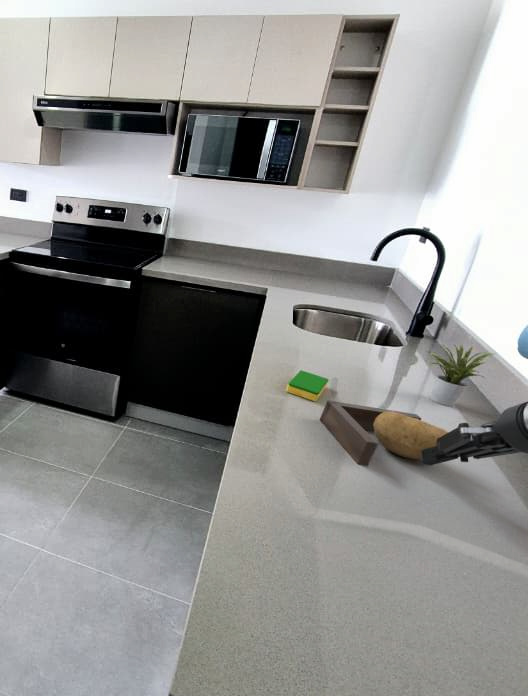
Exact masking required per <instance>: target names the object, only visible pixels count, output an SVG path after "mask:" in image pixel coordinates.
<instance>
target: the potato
mask: <svg viewBox="0 0 528 696" xmlns="http://www.w3.org/2000/svg"><path fill="white" fill-rule="evenodd" d="M373 426H374V432H373V433H374V435H375V436H376V438H377V440H378V442H379V443H380V444H381V445H382V446H383V448H386V449H387V450H389V451H390V452H392V453H393V454H395V455H397V456H399V457H402V458H404V459H409V460H410V459H411V460H423V459H422V450H425V449H428V448H431V447H434V446H437V440H436V439H438V438H439V437H441V436H443V435H445V434H447V433H448V432H449V431H447V430H445V429H444V428H441V427H439V426H436V425H434V424H431V423H428V422H426V421H424V420H422V419H421V420H419V419H416V418H412V417H409V416H406V415H403V414H400V413H396V412H390V411H387V412H384V413H382V414H380V415H379V416H377V417H376V419H375V421H374V424H373Z"/></svg>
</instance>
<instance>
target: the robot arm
mask: <svg viewBox="0 0 528 696" xmlns="http://www.w3.org/2000/svg"><path fill="white" fill-rule="evenodd" d="M516 349H517V352H518V353H519V355H520V356H521V357H523V358H524V359H526V360H528V324H527V325H526V326H525V327H524V328H523V330H522V331H521V333H520V334H519V336H518V338H517V347H516ZM447 432H448V433H447V434H445V435H443V436H441V437H439V438H438V439H436V440H437V446H434V447H431V448H428V449H425V450H422V459H421V460H422V465H426V466H434V465H438V464H442V463H447V462H450V461H453V460H457V459H460V462H461V463H469V458H473V459H475V460H482V459H486V458H493V457H499V456H500V457H501V456H505V455H511V454H518V453H523V454H528V401H525V402H521V403H518V404H516V405H513V406H510V407H508V408H505V409H504V410H503V411H502V412H501V413H500V415H499V417H498V418H497V420H493V421H490V422H485V423H482V424H481V425H480V426H479V427H475V426H474V427H473V426H472V425H470V424H469V423H468V422H461V423H458V425H457V427H456V428H454V429H452V430H451V431H447Z"/></svg>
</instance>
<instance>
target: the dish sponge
mask: <svg viewBox="0 0 528 696" xmlns="http://www.w3.org/2000/svg"><path fill="white" fill-rule="evenodd" d="M329 381H330V380H329V378H327V377H324V376H320V375H317V374H314V373H311V372H307V371H305V370H302V369H301V370H299V371H298V372H297V373H296V375H295V376H294V377H293V378H291V380H290V381H289V382H288V384H287V387H286V389H285V392H287V393H289V394H292V395H295V396H298V397H300V398H304V399H307V400H309V401H312V402H317V400H318V399H319V398H320V396H321V395H322V394H323V392H324V391H325V389H326V387H327V385H328V383H329Z"/></svg>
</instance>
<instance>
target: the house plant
mask: <svg viewBox="0 0 528 696" xmlns="http://www.w3.org/2000/svg"><path fill="white" fill-rule="evenodd" d="M436 343H437V344H439V345H441V346H440V348H441V349H443V350H444V351H445V354H446V355H447V358H448V359H449V361H447V360H445V358H443V357H441V356H439V355H438V354H436V353H435V352H431V351H426V352H427V353H428V354H429V355H431V356H433V358H434V360H435V361H436V362H434V361H432V362H428V365H438V366H439V367H440V369H441V371H442V372H443V374H444V375H442V374H438V375H436V377H435V380H434V382H433V386H432V391H431V394H430V400H431V401H432V402H433V403H436V404H439V405H442V406H445V407H453V406H454V405H455V403H456V402H457V401H458V400H459V399H460V397H461V396H462V395H463V393H464V392H465V391H466V390H467V389H468V387H469V384H468V383H467V382H465V381H463V380H465V379H467V378H469V377H476V376H477V377H482V378H484V380H486V378H485V376H483V375H480V371H479V370H476V368H478V367H479V366H481V365H483V364H486V363H488V362H489V360H487V361H484V360H486V359H488V358H489V357H491V356H493V355H495V353H485V351H484V352H478V353H476V354H473V355H472V356H471V357H470V355H471V353H472V351H473V346H471V347H470V348H469V349H468V350H465V353H464V346H463V344H462V343H459V348H458V346H457V345H456V344H455V343H453V345H454V347H455V351H456V352H455V353H456V360H455V358H454V355H453V353H452V351H451V350H450V349H449V348H448V347H447V346H445V345H444V344H442V343H440V342H437V341H436ZM463 354H464V355H463ZM478 355H479V356H478ZM469 357H470V358H469ZM475 357H476V358H475ZM473 358H474V359H473ZM472 359H473V360H472ZM470 361H471V362H470ZM440 363H441V364H440ZM468 363H469V364H468ZM476 372H477V374H475V373H476Z"/></svg>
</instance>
